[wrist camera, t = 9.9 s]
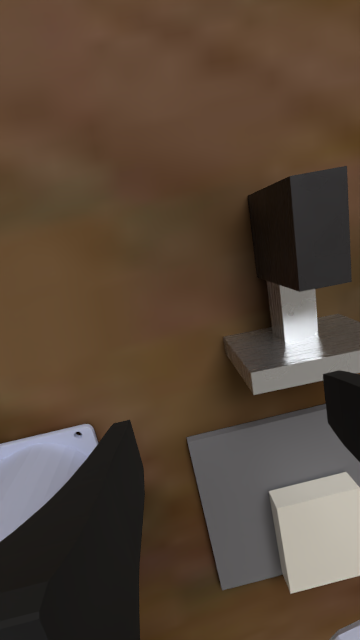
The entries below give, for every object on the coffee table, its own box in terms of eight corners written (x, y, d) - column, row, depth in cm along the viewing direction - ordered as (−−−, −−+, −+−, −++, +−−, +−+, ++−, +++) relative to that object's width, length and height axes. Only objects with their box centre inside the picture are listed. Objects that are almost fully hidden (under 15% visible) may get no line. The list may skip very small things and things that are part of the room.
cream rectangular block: (267, 489, 24) (281, 569, 26) (276, 508, 22) (290, 593, 24) (344, 469, 24) (352, 551, 26) (359, 487, 22) (366, 573, 24)
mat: (220, 582, 26) (222, 590, 26) (186, 437, 23) (187, 442, 22) (404, 534, 27) (410, 541, 26) (399, 386, 23) (405, 389, 23)
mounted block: (225, 353, 22) (253, 395, 16) (203, 203, 19) (226, 187, 13) (339, 330, 22) (407, 362, 16) (331, 180, 19) (408, 154, 14)
